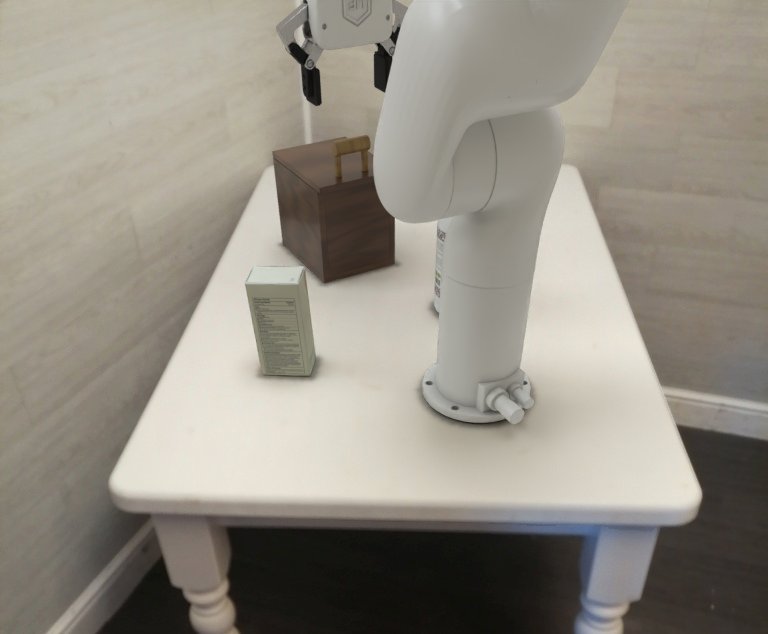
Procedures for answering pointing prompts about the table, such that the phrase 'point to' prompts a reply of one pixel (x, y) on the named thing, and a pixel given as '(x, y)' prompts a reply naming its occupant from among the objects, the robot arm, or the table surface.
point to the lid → (330, 163)
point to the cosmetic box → (281, 319)
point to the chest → (334, 227)
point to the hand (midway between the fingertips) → (348, 96)
